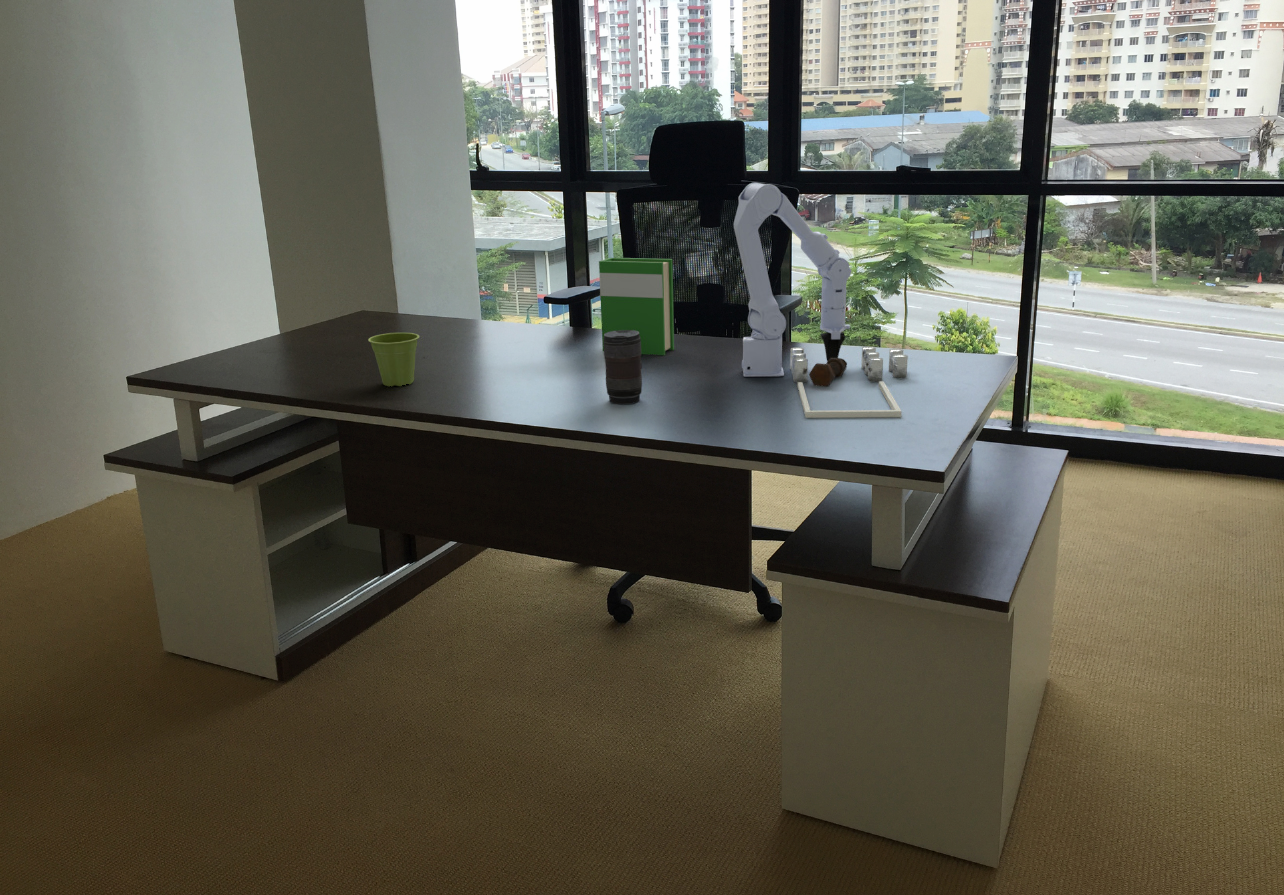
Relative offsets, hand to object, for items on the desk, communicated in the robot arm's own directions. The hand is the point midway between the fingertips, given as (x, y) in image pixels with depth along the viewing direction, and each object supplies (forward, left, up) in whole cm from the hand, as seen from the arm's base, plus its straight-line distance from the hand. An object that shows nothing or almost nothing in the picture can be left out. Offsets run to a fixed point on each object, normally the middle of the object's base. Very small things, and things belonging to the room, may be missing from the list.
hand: (831, 363), depth 248 cm
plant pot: (-104, -12, -1) cm, 105 cm away
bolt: (-1, -11, -2) cm, 12 cm away
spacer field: (+3, -7, -1) cm, 8 cm away
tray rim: (0, -31, -1) cm, 31 cm away
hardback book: (-49, +22, -1) cm, 54 cm away
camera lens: (-48, -30, -1) cm, 56 cm away
